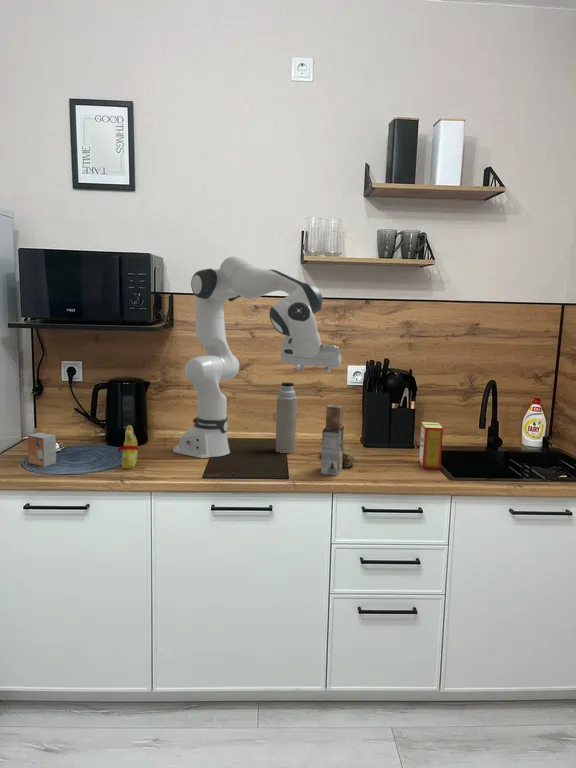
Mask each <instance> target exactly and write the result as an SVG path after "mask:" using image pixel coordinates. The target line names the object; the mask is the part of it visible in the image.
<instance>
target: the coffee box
mask: <svg viewBox="0 0 576 768" xmlns="http://www.w3.org/2000/svg"><path fill="white" fill-rule="evenodd" d="M344 430H345V426H343V425H342V428H341V429H340V430H335V429H326V426H325V427H324V429H322V432H321V433H322V435H321V436H322V437H321V439H322V440H321V459H320V460H321V462H320V465H321V466H320V474H323V475H330V474H331V475H330V476H338V475H339V474H340V472H341V470H342V469H343V466H342V457H343V443H344Z"/></svg>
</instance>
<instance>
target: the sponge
mask: <svg viewBox="0 0 576 768" xmlns="http://www.w3.org/2000/svg"><path fill="white" fill-rule="evenodd" d="M355 458H356V453H355V450H354V448H352V447H351V446H350V445H349V444H347V443H345V442H343V457H342V468H349V467H351V466H352V465H353V464H354V463H355Z"/></svg>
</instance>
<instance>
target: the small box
mask: <svg viewBox="0 0 576 768" xmlns="http://www.w3.org/2000/svg"><path fill="white" fill-rule="evenodd" d="M56 439H57V438H56V434H48V433H45V432H36V433H32V434H29V435H27V448H28V449H27V451H28V453H27V455H28V456H27V457H28V459H27V460H28V463H29V464H32V465H36V466H40V467H47V466H51V465H55V464H56V463H57V444H56V443H57V441H56Z"/></svg>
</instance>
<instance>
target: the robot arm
mask: <svg viewBox="0 0 576 768" xmlns="http://www.w3.org/2000/svg"><path fill="white" fill-rule="evenodd" d="M190 286H191V291H192V293H193V295H194V296H195V297H196V298H195V305H194V310H195V311H194V314H195V315H194V316H195V317H194V319H195V334H196V340H197V341H198V342H199V344H201V345H202V346H203V349H204V350H205V354H204V355H198V356H195V357H193V358H191V359H189V360H188V361H187V362H186V364H185V365H184V366H185V367H184V374H185V378H186V379H187V380H188V382H189V383H191V384H192V386H193V387H194V389H195V393H196V396H197V413H198V414H197V416H196V417H194V419H192V420H191V423H193V426H192V427H190V428H189V429H188V430H186V431H185V432H183V433H182V434H181V436H180V438H179V441H178V444H177V445H176V446H174V447H173V448H172V449H173V450H172V453H175V454H179V455H183V456H189V457H194V458H200V459H205V458H215V457H223V456H226V455H229V454H230V453H231V450H230V447H229V446H230V445H229V440H228V428H229V427H228V423H229V421H228V416H227V409H228V408H227V405H228V403H227V402H228V400H227V397H226V395H225V394H223V393H222V391H221V389H220V385H219V383H220V382H226V381H229V380H231V379H232V378H234V377H236V376H237V375H238V373H239V371H240V362H239V360H238V358H237V357H236V356H235V355H234V354H233V352H232V351H231V349H230V346H229V345H228V341H227V336H226V324H225V312H224V305H225V302H226V301H229V302H234V301H235V300H236V299H240V298H244V299H246V300H254V299H258V298H261V297H263V296H264V295H268V294H270V293H273V292H277V291H280V292H284V293H286V294H288V295H287V296H285V297H283V298H282V299H280V300H279V301H277V302H276V303H275V304H273V305H272V306H271V307H270V308H269V320H270V322H271V324H272V327H273V328H274V329H275V330H276V331H277V332H278V333H279V334H282V335H284V337H283V338H284V339H283V340H282V343H281V347H280V352H281V353H280V357H281V361H282V363H283V364H285V365H286V364H287V365H293V366H294V367H295V368H297V369H298V371H299V372H304V370H305V366H313V367H325V368H324V371H325V373H326V374H330V373H331V369H332V368H339V367H340V366H341V364H342V360H343V358H342V355H341V350H340V347H338V346H335V345H334V344H323V343H322V339H321V336H320V333H319V331H318V323H317V320H316V317H315V314H317V313H318V312H319V311H321V310H322V306H323V303H324V301H323V300H324V299H323V294H322V293H321V291H320V290H319V289H318V288H317V287H316V286H315V285H312V284H309V283H307V282H303V281H301V280H298V279H296V278H293V277H292V276H289V275H288V274H285V273H283V272H280V271H278V270H275V269H265V268H258V267H255V266H253V265H252V264H251V263H249V262H248V261H246V260H244V259H241V258H240V257H237V256H229V257H227V258H225V259H224V260H223V261H222V262H221V264H220V267H219V268H218V269H217V268H214V269H212V268H205V269H201V270H200V269H199V270H198V271H196V272H194V274H193V276H192V277H191V281H190Z"/></svg>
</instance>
